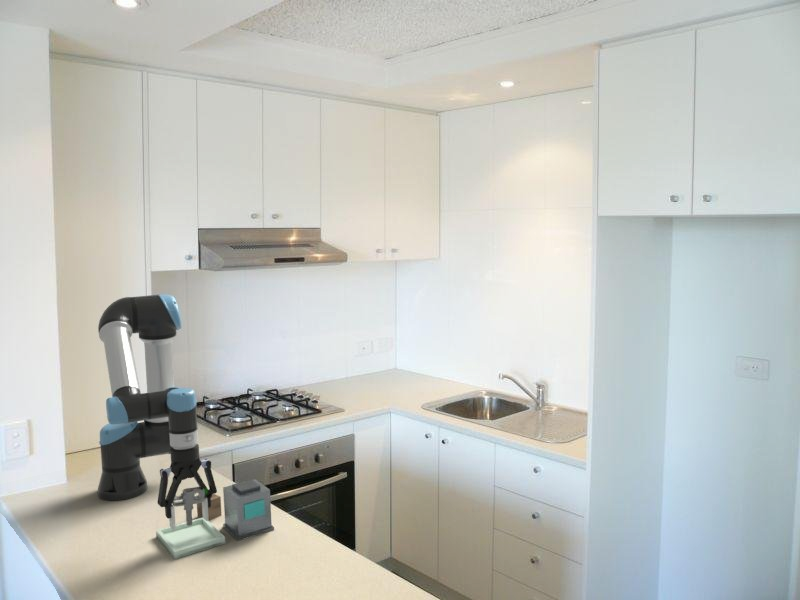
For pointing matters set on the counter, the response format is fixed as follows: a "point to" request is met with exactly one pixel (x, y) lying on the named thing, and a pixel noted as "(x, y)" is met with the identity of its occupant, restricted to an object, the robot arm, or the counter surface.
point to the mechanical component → (189, 500)
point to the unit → (247, 509)
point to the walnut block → (211, 508)
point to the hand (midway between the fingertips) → (189, 523)
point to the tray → (190, 538)
